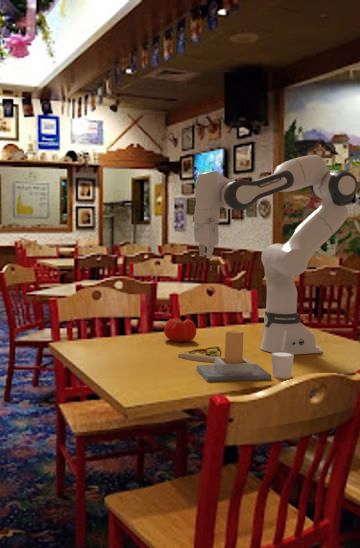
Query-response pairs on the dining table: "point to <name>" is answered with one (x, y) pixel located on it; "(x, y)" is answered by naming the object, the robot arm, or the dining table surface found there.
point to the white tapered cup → (282, 364)
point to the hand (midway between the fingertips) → (205, 257)
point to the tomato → (180, 330)
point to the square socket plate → (232, 371)
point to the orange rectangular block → (234, 347)
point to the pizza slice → (202, 354)
